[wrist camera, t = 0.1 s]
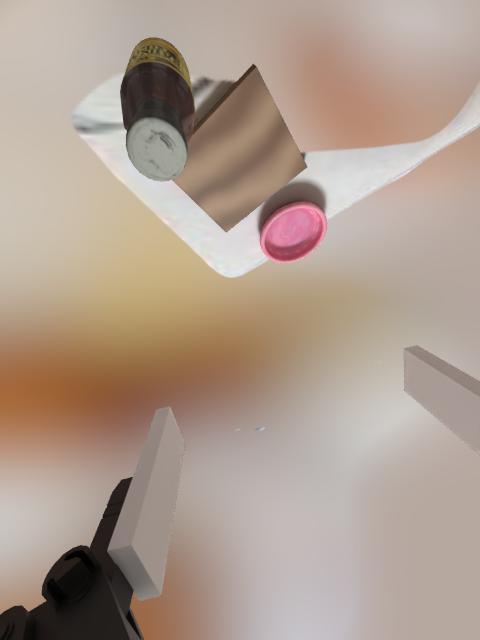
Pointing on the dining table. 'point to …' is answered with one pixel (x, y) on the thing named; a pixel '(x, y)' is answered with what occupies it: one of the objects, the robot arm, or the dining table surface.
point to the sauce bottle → (157, 109)
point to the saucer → (293, 232)
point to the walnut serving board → (239, 153)
